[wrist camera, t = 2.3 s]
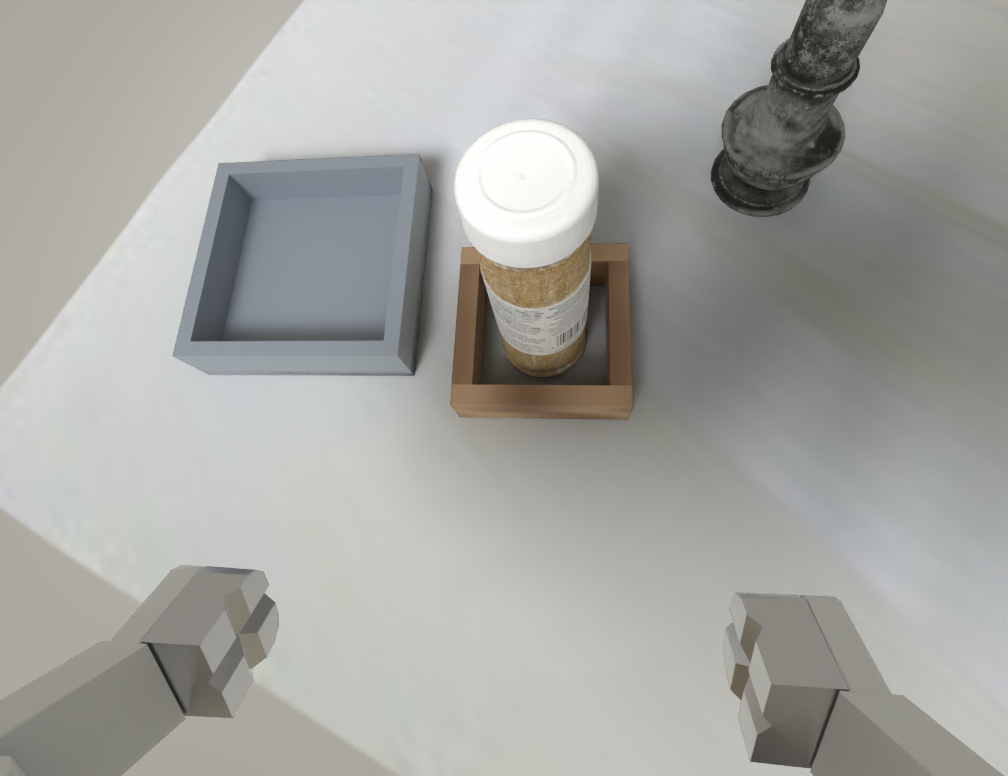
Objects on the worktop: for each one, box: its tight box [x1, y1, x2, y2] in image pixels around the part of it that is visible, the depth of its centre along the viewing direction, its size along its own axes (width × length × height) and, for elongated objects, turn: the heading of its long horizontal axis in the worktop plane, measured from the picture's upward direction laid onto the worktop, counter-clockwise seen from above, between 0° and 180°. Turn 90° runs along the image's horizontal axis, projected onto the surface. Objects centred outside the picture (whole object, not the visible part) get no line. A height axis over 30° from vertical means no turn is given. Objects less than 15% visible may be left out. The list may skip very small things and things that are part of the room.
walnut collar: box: [450, 243, 633, 419], centre depth 28 cm, size 9×9×2 cm
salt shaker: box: [711, 0, 887, 217], centre depth 25 cm, size 6×6×12 cm
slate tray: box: [173, 154, 432, 376], centre depth 31 cm, size 12×12×3 cm
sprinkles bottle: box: [454, 119, 599, 377], centre depth 23 cm, size 5×5×13 cm
